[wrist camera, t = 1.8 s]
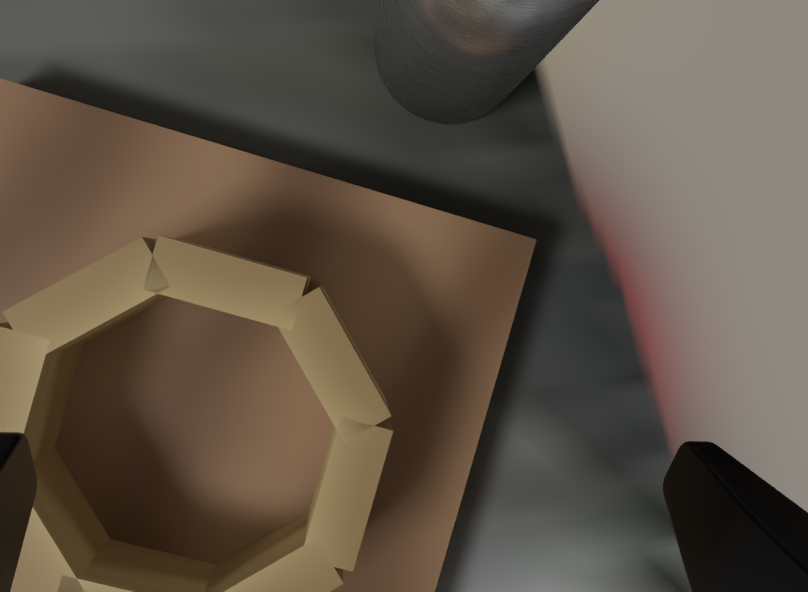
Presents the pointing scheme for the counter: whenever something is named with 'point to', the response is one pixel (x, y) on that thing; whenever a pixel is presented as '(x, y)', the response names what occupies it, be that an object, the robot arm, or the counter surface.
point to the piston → (466, 51)
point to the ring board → (235, 361)
